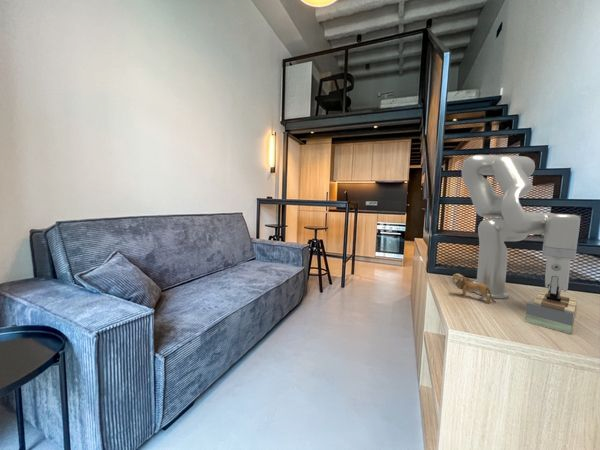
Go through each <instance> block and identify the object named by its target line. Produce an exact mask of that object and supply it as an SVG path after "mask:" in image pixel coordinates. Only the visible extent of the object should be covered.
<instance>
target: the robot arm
mask: <svg viewBox="0 0 600 450" xmlns="http://www.w3.org/2000/svg"><path fill="white" fill-rule="evenodd" d="M535 169H536V165H535V162H534V160H533V159H532V158H530V157H528V156H521V155H520V156H519V155H498V154H497V155H495V154H475V155H471V156H469V157H467V158H466V159H465V160H464V161H463V164H462V167H461V178H462V180H463V181H462V182H463V184H464V185H465V187H466V189H467V190H468V193H469V196H470V199H471V202H472V205H473V208H474V210H475V213H476V214H477V215H478V216H479V217H481V218H482V217H483V218H485V219H483V220H481V221H480V223H479V224H478V227H477V233H478V239H479V240H478V242H479V243H478V244H479V247H478V248H479V249H478V260H477V261H478V263H477V272H476V279H474V280H473V281H471V282H473V283H482V284H485V285H486V286H488V288H489V289H490V292H491V296H492V299H500V300H501V299H502V300H503V299H508V298H509V297H510V294H509V292H507V291H505V288H506V278H507V268H508V267H507V266H508V257H509V252H508V248H507V246H506V244H505V242H521V241H523V240H525V239H526V238H527V237H528V235H543V243H542V251H541V256H542V257H545V258H546V262H545V263H546V264H545V273H544V274H545V275H544V287H545V288H546V289H547V293H548V295H547V298H546V299H549V300H553V301H558V302H561V298H560V296H561V291H563V292H564V293H565V292H567V291H568V289H569V282H570V274H571V273H570V271H571V261H576V258H577V257H576V256H577V249H578V240H579V234H580V233H579V232H580V224H581V219H580V216H579V215H576V214H567V213H552V212H551V213H550V212H537V211H536V212H534V211H530V212H529V211H525V210H524V208H523V206H522V204H521V203H520V198H521V197H523V196H525V195H526V194H528V193H529V192H530V191H531V190H532V189H533V184H532V182H531V180H530V178H529V177H530V176H531V175H533V173H534V172H535ZM484 176H494V178H495V180H496V182H497V184H498V185H499V187H500V190H501V191H502V194H503V195H500V194H497V193H496V192H495V191H494V190H495V189H494V188H493V185H492V184H491V182H490V181H489V180H488V179H487V178H486V177H484ZM486 292H487V295H488V296H489V292H488V290H487V291H486ZM473 293H475V294H477V295H479V296H482V294H481V293H480V291H477V292H473ZM489 298H490V296H489Z"/></svg>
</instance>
